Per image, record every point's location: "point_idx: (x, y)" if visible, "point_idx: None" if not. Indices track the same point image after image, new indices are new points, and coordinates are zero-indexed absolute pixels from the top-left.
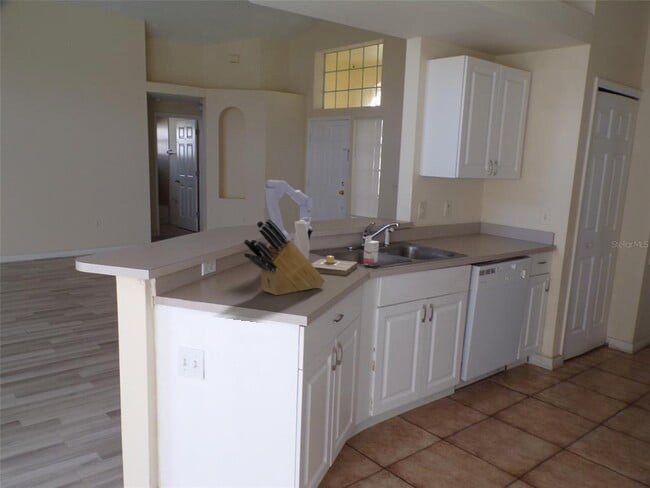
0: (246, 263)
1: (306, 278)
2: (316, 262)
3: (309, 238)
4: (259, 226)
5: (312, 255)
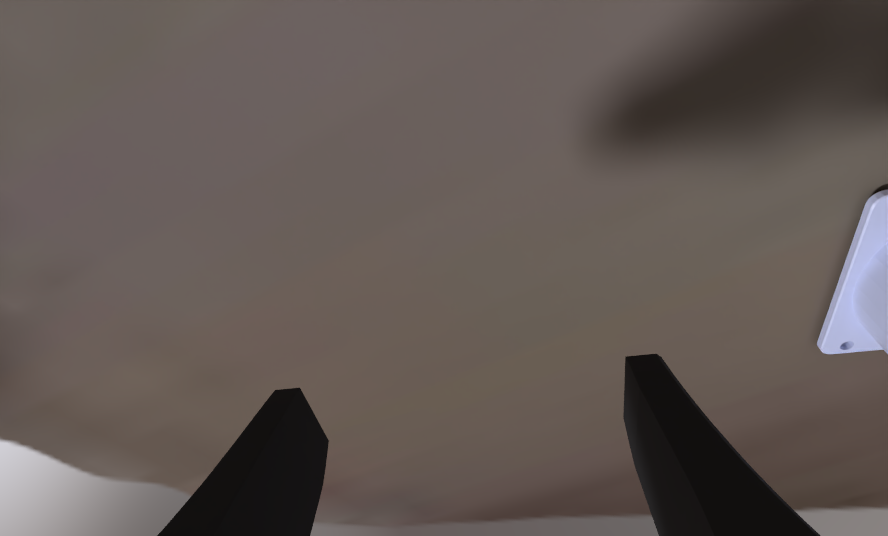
0: (857, 503)
1: None
2: None
3: (217, 488)
4: None
5: (57, 281)
